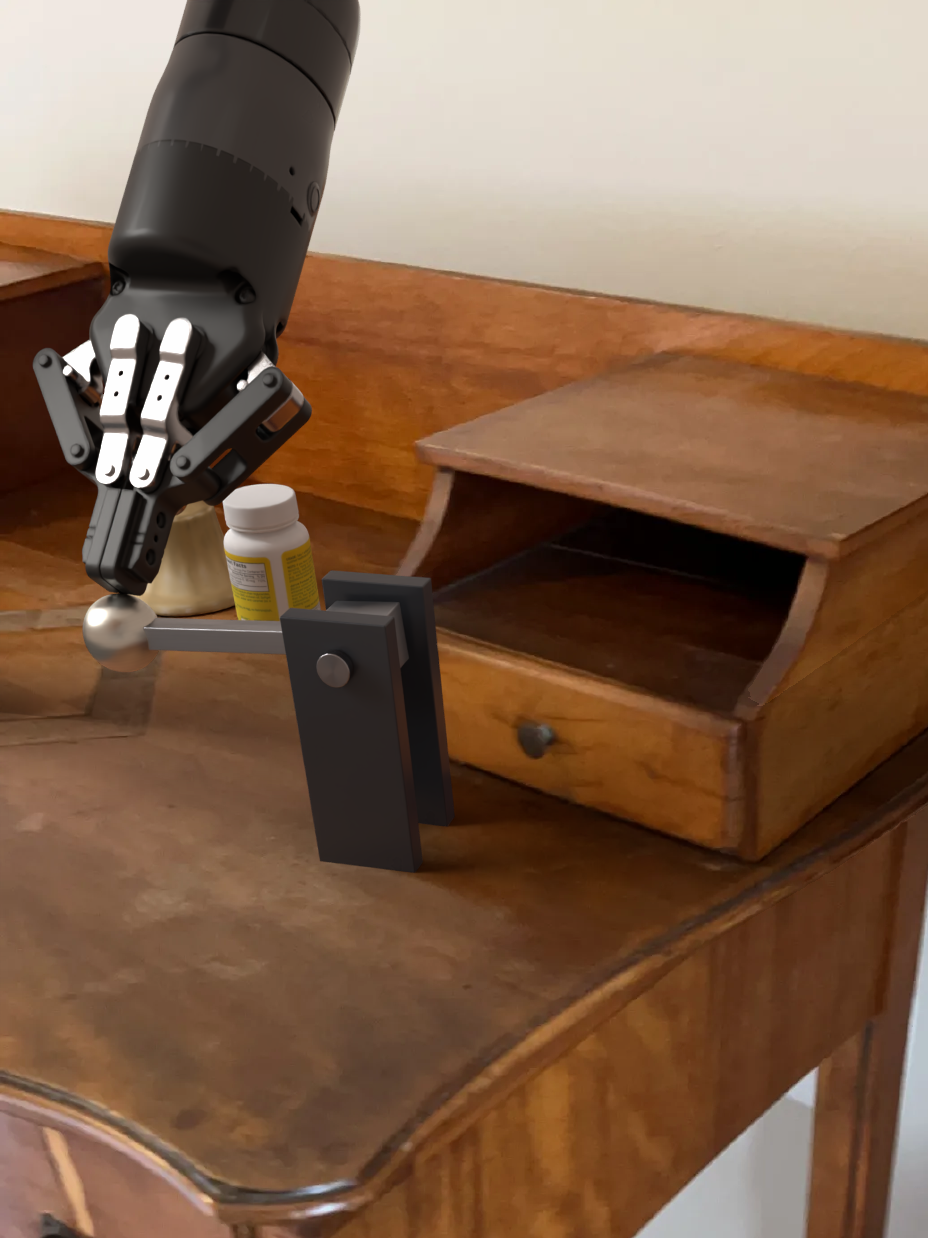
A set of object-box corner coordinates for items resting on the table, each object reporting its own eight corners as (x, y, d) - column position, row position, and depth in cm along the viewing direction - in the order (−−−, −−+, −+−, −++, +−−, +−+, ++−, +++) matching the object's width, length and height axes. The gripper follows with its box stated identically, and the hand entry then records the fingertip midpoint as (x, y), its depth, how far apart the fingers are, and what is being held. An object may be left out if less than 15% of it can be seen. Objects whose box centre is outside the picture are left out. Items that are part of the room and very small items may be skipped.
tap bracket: (273, 912, 66) (218, 628, 58) (345, 822, 72) (305, 553, 64) (447, 935, 64) (415, 645, 56) (506, 841, 70) (485, 567, 62)
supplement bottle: (317, 620, 91) (296, 476, 86) (331, 650, 88) (309, 502, 83) (237, 632, 90) (210, 487, 85) (248, 663, 87) (220, 514, 82)
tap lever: (80, 683, 64) (57, 609, 63) (118, 652, 67) (98, 581, 65) (386, 695, 61) (372, 618, 59) (415, 662, 63) (403, 587, 61)
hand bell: (247, 614, 92) (195, 329, 82) (110, 619, 92) (43, 334, 83) (269, 564, 99) (224, 294, 89) (142, 568, 99) (82, 299, 89)
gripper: (40, 129, 63) (-77, 527, 62) (318, 135, 58) (198, 563, 57) (146, 247, 70) (43, 606, 69) (401, 260, 65) (295, 643, 64)
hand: (114, 586), depth 63 cm, fingers closed
